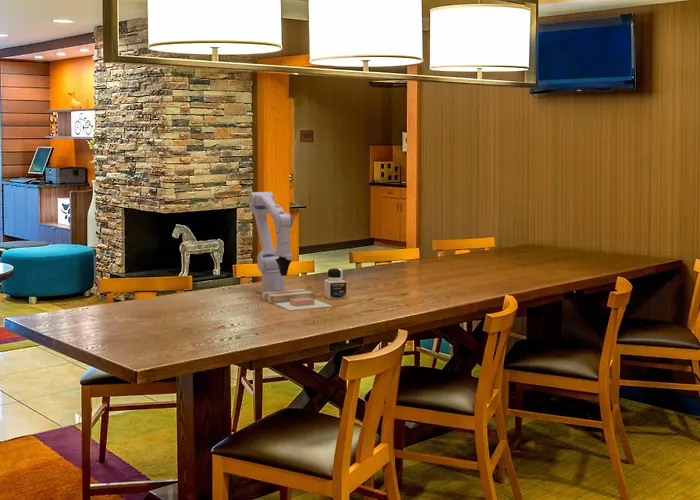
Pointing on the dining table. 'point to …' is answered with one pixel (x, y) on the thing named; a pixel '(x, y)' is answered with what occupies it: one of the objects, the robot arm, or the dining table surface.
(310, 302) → the block
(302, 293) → the block
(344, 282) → the medicine bottle
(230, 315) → the dining table surface
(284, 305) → the mat
